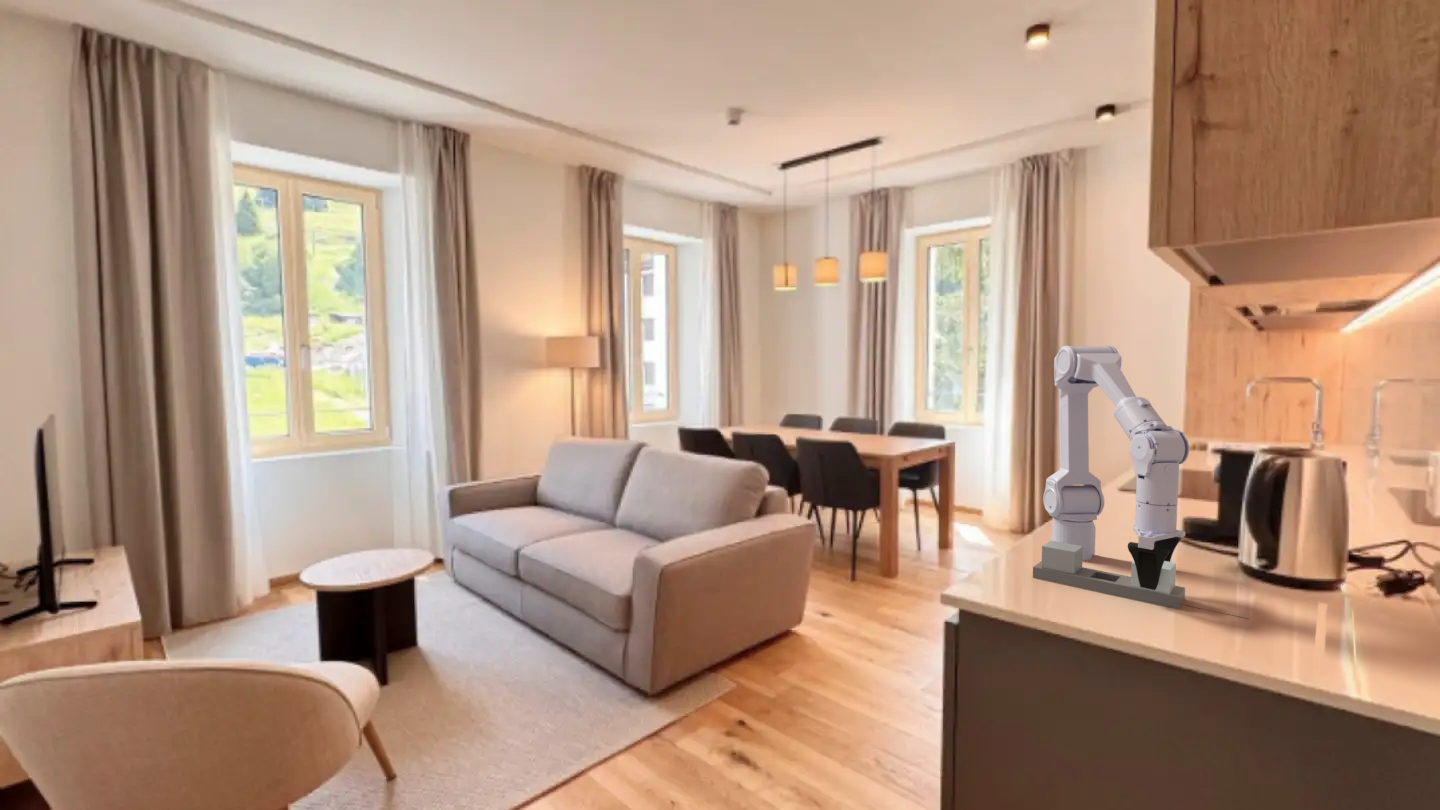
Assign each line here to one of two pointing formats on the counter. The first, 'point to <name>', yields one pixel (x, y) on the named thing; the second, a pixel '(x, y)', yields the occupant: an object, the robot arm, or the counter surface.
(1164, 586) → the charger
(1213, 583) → the counter surface
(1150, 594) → the power strip
